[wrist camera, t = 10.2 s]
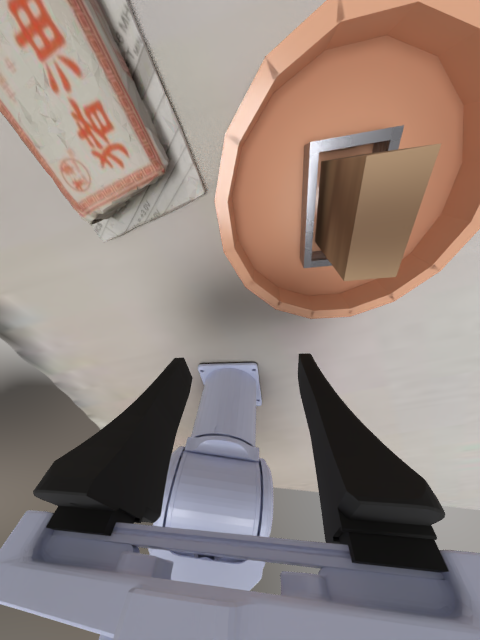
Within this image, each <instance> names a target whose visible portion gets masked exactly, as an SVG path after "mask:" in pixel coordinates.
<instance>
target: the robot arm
mask: <svg viewBox="0 0 480 640" xmlns="http://www.w3.org/2000/svg"><path fill="white" fill-rule="evenodd" d="M198 371H199V373H200V376H201V378H202V381H203V383H204V389H203V393H202V397H201V400H200V404H199V408H198V412H197V416H196V419H195V423H194V427H193V431H192V435H191V437H188V439H187V442H186V446H185V447H182V446H180V447H178V448H177V450H175V451H174V452H173V453H172V449H173V445H174V441H175V436H176V433H177V429H178V426H179V423H180V420H181V417H182V414H183V411H184V408H185V405H186V402H187V399H188V396H189V393H190V388H191V383H192V376H191V373H190V371H189V369H188V366H187V364H186V362H185V360H184V358H174V360H173V361H172V362H171V363H170V364H169V365H168V366H167V367H166V369H165V370H164V371H163V372H162V373H161V374H160V375H159V377H158V378H157V379H156V380H155V381H154V382H153V383H152V384H151V385H150V386H149V387H148V388H147V390H146V391H145V392H144V393H143V394H142V395H141V396H140V397H139V398H138V399H137V400H136V401H135V402H134V403H132V404H131V405H130V406H129V407H128V408H127V409H126V410H125V411H124V412H122V413H121V414H120V415H119V416H118V417H117V418H115V419H114V420H113V421H112V422H110V423H109V424H108V425H107V426H105V427H104V428H103V429H101V430H100V431H99V432H98V433H96V434H95V435H94V436H92V437H91V438H89V439H88V440H86V441H85V442H84V443H82V444H81V445H79V446H78V447H76V448H75V449H73V450H71V451H70V452H68V453H67V454H65V455H64V456H62V457H61V458H59V459H57V460H56V461H54V463H53V464H52V466H51V467H50V469H49V470H48V471H47V473H46V474H45V476H44V477H43V478H42V480H41V481H40V483H39V484H38V486H37V487H36V488H35V490H34V491H33V493H34V496H36V497H38V498H40V499H42V500H45V501H47V502H50V503H52V504H55V505H57V506H58V508H57V510H56V511H55V513H51V512H44V511H34V510H28V511H26V512H25V514H24V515H23V517H22V518H21V520H20V521H19V523H18V524H17V526H16V527H15V528H14V530H13V531H12V533H11V534H10V536H9V537H8V539H7V540H6V542H5V543H4V545H3V546H2V548H1V549H0V604H2V605H5V606H9V607H13V608H16V609H19V610H23V611H26V612H29V613H32V614H36V615H39V616H42V617H45V618H49V619H52V620H56V621H59V622H62V623H65V624H68V625H72V626H75V627H78V628H81V629H85V630H88V631H91V632H94V633H98V634H100V637H99V640H480V553H474V552H463V551H454V550H440V551H439V549H438V547H437V545H436V543H435V540H436V539H437V537H436V534H435V532H434V530H433V528H432V526H431V525H432V524H434V523H436V522H438V521H440V520H442V519H443V518H444V517H445V512H444V510H443V508H442V506H441V504H440V503H439V501H438V499H437V497H436V496H435V494H434V493H433V491H432V490H431V488H430V487H429V485H428V484H427V482H426V481H425V479H423V478H422V477H421V476H420V475H419V474H417V473H416V472H415V471H414V470H413V469H411V468H410V467H409V466H408V465H407V464H406V463H404V462H403V461H402V460H401V459H400V458H399V457H397V456H396V455H395V454H394V453H393V452H392V451H391V450H390V449H389V448H387V447H386V446H385V445H384V444H383V443H382V442H381V441H380V440H379V439H378V438H377V437H376V436H375V435H374V434H373V433H372V432H371V431H370V430H369V429H368V428H367V427H366V426H365V425H364V424H363V423H362V422H361V421H360V420H359V419H358V418H357V417H356V416H355V415H354V414H353V412H352V411H351V410H350V409H349V408H348V407H347V406H346V404H345V403H344V402H343V401H342V400H341V398H340V397H339V396H338V395H337V393H336V392H335V391H334V389H333V388H332V387H331V385H330V384H329V382H328V381H327V380H326V378H325V377H324V375H323V374H322V372H321V371H320V369H319V367H318V366H317V364H316V362H315V361H314V359H313V357H312V355H311V354H299V363H298V381H299V388H300V394H301V398H302V403H303V407H304V411H305V415H306V419H307V423H308V427H309V431H310V436H311V441H312V448H313V454H314V461H315V467H316V474H317V481H318V488H319V495H320V503H321V510H322V518H323V525H324V534H325V540H326V543H322V542H312V541H301V540H291V539H282V538H272V537H269V535H270V532H271V526H272V519H273V518H272V517H273V482H272V475H271V471H270V468H269V467H268V465H267V463H266V461H265V460H264V459H261V458H259V448H257V447H255V438H256V406H261V405H262V398H261V390H260V382H259V374H258V367H257V364H256V363H227V364H200V365H198ZM134 522H136V523H141V522H151V523H153V526H149V525H140V524H133V523H134ZM138 547H142V548H148V550H149V553H150V555H146V554H140V553H139V548H138ZM265 562H271V563H279V564H287V565H297V566H305V567H314V568H322V569H321V570H320V571H319V573H318V575H317V574H311V573H300V572H284V571H282V573H281V595H274V594H268V593H261V592H254V591H250V590H251V589H252V588H253V587H254V586H255V585H256V584H257V583H258V582H259V581H260V579H261V578H262V570H263V568H264V566H265Z"/></svg>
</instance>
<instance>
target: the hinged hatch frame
mask: <svg viewBox="0 0 480 640" xmlns="http://www.w3.org/2000/svg"><path fill="white" fill-rule="evenodd" d="M403 128H404V125H401V126H396V127H390V128H385V129H379V130H374V131H368V132H363V133H357V134H352V135H346V136H341V137H335V138H330V139H324V140H319V141H313V142H309V143H308V144H306V145H304V160H303V186H302V211H301V237H300V261H301V263H302V265H303V268H312V267H323V266H332V264H331V263H330V262H329V260H328V259H327V258H326V256H325V255H324V253H323V252H322V251H312V242H313V229H314V215H315V201H316V188H317V174H318V160H319V153H322V152H328V151H334V150H340V149H345V148H351V147H357V146H363V145H368V144H374V145H373V150H372V153H377V152H384V151H391V150H398V148H399V144H400V140H401V136H402V132H403Z"/></svg>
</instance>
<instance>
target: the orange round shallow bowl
mask: <svg viewBox="0 0 480 640" xmlns="http://www.w3.org/2000/svg"><path fill="white" fill-rule="evenodd" d="M401 125H404V128H403V132H402V136H401V140H400V144H399V148H398V149H405V148H412V147H419V146H426V145H434V144H441V143H442V144H441V147H440V150H439V153H438V156H437V159H436V161H435V164H434V167H433V170H432V173H431V176H430V179H429V182H428V185H427V188H426V191H425V194H424V197H423V199H422V202H421V205H420V208H419V211H418V214H417V217H416V220H415V223H414V226H413V229H412V232H411V235H410V237H409V240H408V243H407V246H406V249H405V252H404V255H403V258H402V261H401V264H400V267H399V270H398V272H397V275H396V277H390V278H377V279H365V280H353V281H343V279H342V278H341V277H340V275H339V274H338V272H337V271H336V270H335V268H334V267H333V266H323V267H312V268H303V265H302V263H301V261H300V237H301V211H302V186H303V160H304V145H306V144H308V143H309V142H313V141H319V140H324V139H330V138H335V137H341V136H346V135H352V134H357V133H363V132H368V131H374V130H379V129H385V128H390V127H396V126H401ZM373 145H374V144H368V145H363V146H357V147H351V148H345V149H340V150H334V151H328V152H322V153H319V160H318V174H317V188H316V201H315V215H314V229H313V242H312V251H321V249H320V248H319V247H318V245H317V244H316V243H315V233H316V220H317V207H318V195H319V182H320V170H321V161H326V160H332V159H338V158H344V157H350V156H356V155H362V154H369V153H372V150H373ZM214 202H215V207H216V212H217V218H218V223H219V229H220V234H221V240H222V245H223V251H224V253H225V255H226V257H227V258H228V260H229V261H230V263H231V265H232V266H233V268H234V269H235V271H236V273H237V274H238V276H239V278H240V279H241V281H242V282H243V284H244V286H245V287H246V288H247V289H248V290H250V291H251V292H253V293H254V294H255V295H257V296H258V297H259V298H261V299H262V300H264V301H265V302H266V303H268V304H269V305H270V306H272V307H273V308H274V309H276V310H280V311H284V312H287V313H291V314H295V315H299V316H302V317H306V318H310V319H316V318H333V317H350V316H353V315H356V314H359V313H362V312H365V311H368V310H371V309H374V308H377V307H379V306H382V305H385V304H388V303H391V302H394V301H395V300H397V299H398V298H400V297H402V296H403V295H405V294H406V293H408V292H409V291H411V290H412V289H414V288H415V287H417V286H418V285H420V284H421V283H423V282H424V281H426V280H427V279H429V278H430V277H432V276H434V275H435V274H437V273H438V272H440V271H441V270H442V269H443V268H444V267H445V265H446V264H447V263H448V262H449V261H450V260H451V259H452V258H453V257H454V256H455V255H456V254H457V253H458V252H459V250H460V249H461V248H462V247H463V246H464V245H465V244H466V243H467V242H468V241H469V240H470V239H471V238H472V237H473V235H474V234H475V233H476V232H477V231H478V230H479V229H480V0H327V1H325V2H324V3H323V4H322V5H321V6H320V7H319V8H318V9H317V10H316V11H315V12H313V13H312V14H311V15H310V16H309V17H308V18H307V19H306V20H305V21H304V22H303V23H301V24H300V25H299V26H298V27H297V28H296V29H295V30H294V31H293V32H292V33H291V34H289V35H288V36H287V37H286V38H285V39H284V40H283V41H282V42H281V43H280V44H279V45H277V46H276V47H275V48H274V49H273V50H272V51H271V52H270V53H269V54H268V55H267V56H265V59H264V60H263V62H262V64H261V66H260V68H259V70H258V72H257V74H256V76H255V78H254V80H253V82H252V83H251V85H250V87H249V89H248V91H247V93H246V95H245V97H244V99H243V101H242V103H241V105H240V107H239V108H238V110H237V112H236V114H235V116H234V118H233V120H232V122H231V124H230V126H229V128H228V130H227V131H226V133H225V138H224V144H223V150H222V157H221V163H220V169H219V175H218V182H217V188H216V194H215V201H214Z"/></svg>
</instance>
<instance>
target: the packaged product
mask: <svg viewBox="0 0 480 640" xmlns="http://www.w3.org/2000/svg"><path fill="white" fill-rule="evenodd" d="M0 112H1V113H2V114H3V115H4V117H5V118H6V119H7V120H8V122H9V123H10V124H11V126H12V127H13V128H14V130H15V131H16V132H17V133H18V135H19V137H20V138H21V140H22V141H23V142H24V143H25V145H26V146H27V147H28V149H29V150H30V151H31V152H32V154H33V155H34V156H35V158H36V159H37V160H38V161H39V163H40V164H41V165H42V167H43V168H44V169H45V170H46V172H47V173H48V174H49V175H50V176H51V177H52V178H53V180H54V182H55V183H56V185H57V186H58V188H59V189H60V191H61V192H62V194H63V195H64V196H65V198H66V199H67V200H68V201H69V203H70V204H71V206H72V207H73V209H75V210H76V211H77V212H78V213H79V215H80V216H81V218H82V219H83V220H85V221H87V222H88V223H89V224H90V225H91V226H92V228H93V229H94V230H95V232H96V233H97V235H98V236H99V238H100V239H101V240H102V241H103V242H106V241H109V240H111V239H114V238H116V237H119V236H121V235H123V234H125V233H127V232H129V231H130V230H132V229H134V228H136V227H137V226H140V225H142V224H145V223H147V222H150V221H152V220H155V219H157V218H159V217H161V216H163V215H165V214H167V213H170V212H172V211H174V210H176V209H178V208H180V207H182V206H184V205H186V204H187V203H189V202H191V201H192V200H194V199H196V198H197V197H199V196H201V195H202V194H204V193H205V192H206V190H205V188H204V185H203V182H202V180H201V177H200V174H199V172H198V169H197V167H196V164H195V162H194V159H193V156H192V154H191V151H190V149H189V146H188V144H187V141H186V139H185V136H184V134H183V131H182V129H181V126H180V124H179V122H178V120H177V118H176V115H175V113H174V111H173V109H172V107H171V105H170V103H169V101H168V99H167V96H166V94H165V91H164V89H163V86H162V84H161V81H160V79H159V76H158V74H157V71H156V69H155V66H154V64H153V61H152V59H151V56H150V54H149V51H148V49H147V46H146V44H145V41H144V39H143V36H142V34H141V31H140V29H139V27H138V24H137V22H136V20H135V17H134V15H133V12H132V10H131V7H130V4H129V1H128V0H0Z"/></svg>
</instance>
